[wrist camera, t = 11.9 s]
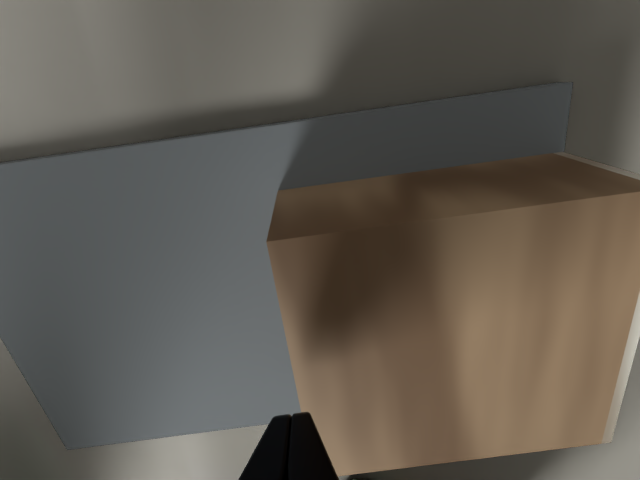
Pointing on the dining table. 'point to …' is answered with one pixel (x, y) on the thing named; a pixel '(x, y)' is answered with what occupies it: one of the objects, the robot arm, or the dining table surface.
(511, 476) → the dining table surface
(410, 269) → the block
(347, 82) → the dining table surface
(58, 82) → the dining table surface
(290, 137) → the mat
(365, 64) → the dining table surface
